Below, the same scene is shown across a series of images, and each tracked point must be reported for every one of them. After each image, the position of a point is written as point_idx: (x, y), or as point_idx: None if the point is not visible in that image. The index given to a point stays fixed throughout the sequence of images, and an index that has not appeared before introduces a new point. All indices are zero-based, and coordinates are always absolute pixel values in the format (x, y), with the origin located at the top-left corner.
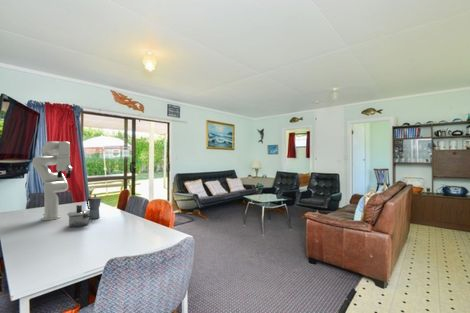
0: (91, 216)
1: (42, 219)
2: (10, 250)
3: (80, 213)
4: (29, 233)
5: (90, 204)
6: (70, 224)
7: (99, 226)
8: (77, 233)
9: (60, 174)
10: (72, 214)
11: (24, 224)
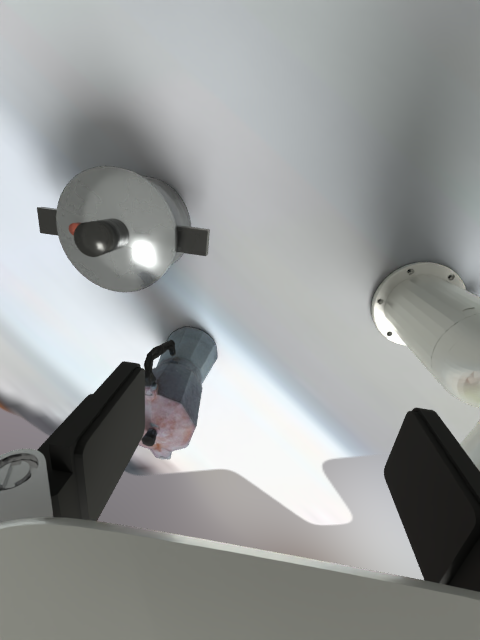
0: (178, 334)
1: (442, 265)
2: None
3: (67, 200)
4: (265, 4)
5: (169, 372)
6: (144, 176)
7: (31, 227)
8: (15, 91)
9: (423, 514)
10: (95, 167)
11: (476, 161)
